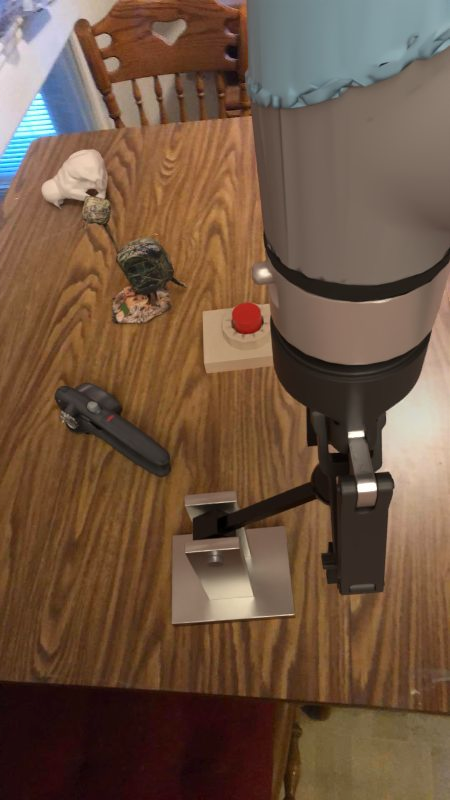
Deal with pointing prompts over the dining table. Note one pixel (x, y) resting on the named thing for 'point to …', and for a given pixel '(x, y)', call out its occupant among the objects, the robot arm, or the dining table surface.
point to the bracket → (229, 571)
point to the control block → (235, 342)
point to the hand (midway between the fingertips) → (333, 504)
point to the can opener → (110, 425)
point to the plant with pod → (135, 270)
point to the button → (247, 318)
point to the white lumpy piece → (77, 178)
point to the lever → (261, 509)
